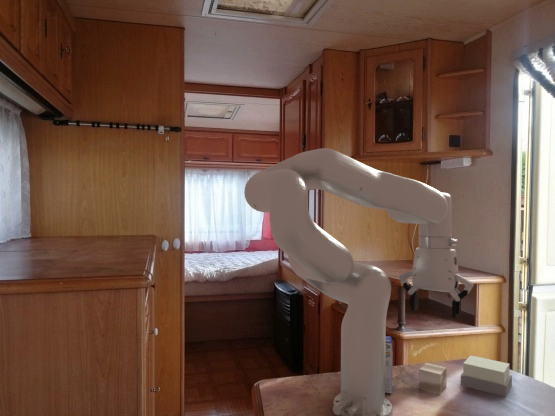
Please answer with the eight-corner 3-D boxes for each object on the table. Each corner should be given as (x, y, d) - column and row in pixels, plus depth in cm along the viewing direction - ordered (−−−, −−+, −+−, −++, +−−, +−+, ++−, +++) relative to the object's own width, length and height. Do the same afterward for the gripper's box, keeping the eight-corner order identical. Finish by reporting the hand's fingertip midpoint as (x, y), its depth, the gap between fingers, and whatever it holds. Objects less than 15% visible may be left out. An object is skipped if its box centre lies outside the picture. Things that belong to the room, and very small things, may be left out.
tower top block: (504, 385, 97) (504, 372, 97) (463, 375, 102) (463, 363, 102) (509, 375, 102) (509, 363, 102) (470, 366, 108) (470, 355, 108)
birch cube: (440, 395, 97) (440, 374, 97) (419, 389, 100) (419, 368, 100) (446, 387, 101) (446, 367, 101) (425, 382, 104) (426, 362, 104)
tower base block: (506, 399, 96) (506, 386, 96) (460, 387, 102) (460, 375, 102) (511, 387, 102) (511, 375, 102) (468, 376, 109) (468, 365, 109)
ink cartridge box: (391, 384, 102) (391, 326, 102) (393, 394, 97) (393, 333, 97) (351, 380, 104) (351, 324, 104) (350, 390, 99) (351, 330, 99)
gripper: (476, 244, 98) (476, 315, 98) (405, 240, 108) (405, 304, 109) (469, 247, 92) (469, 323, 92) (394, 242, 102) (394, 310, 103)
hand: (434, 313), depth 100 cm, fingers open, 9 cm apart
